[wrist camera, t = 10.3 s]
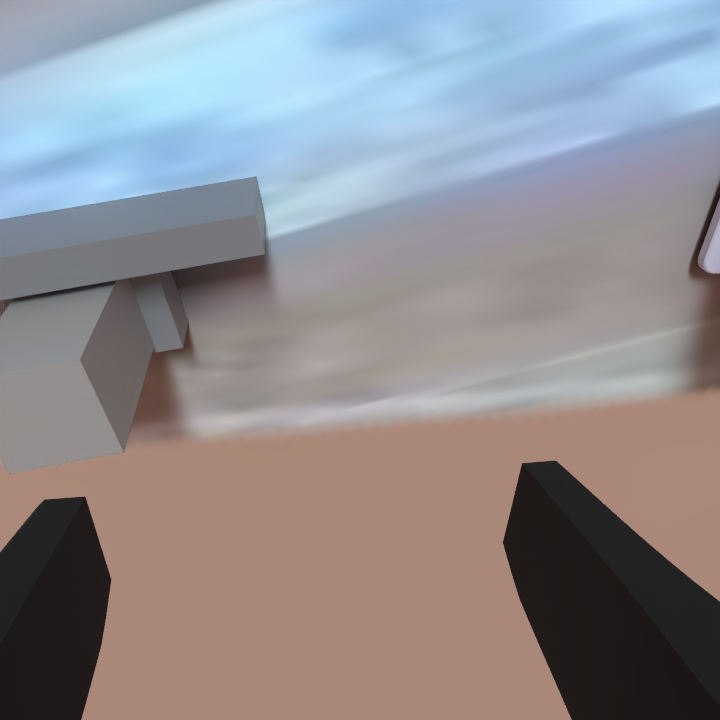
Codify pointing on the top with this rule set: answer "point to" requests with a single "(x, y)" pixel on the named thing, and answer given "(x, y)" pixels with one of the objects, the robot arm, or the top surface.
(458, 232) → the top surface
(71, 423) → the pusher
